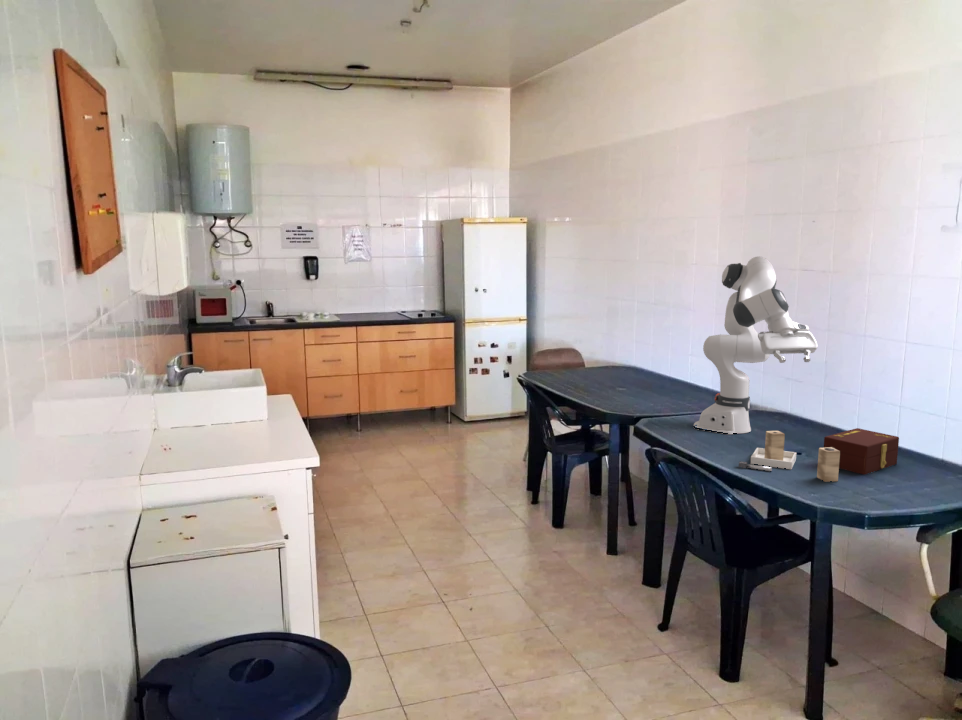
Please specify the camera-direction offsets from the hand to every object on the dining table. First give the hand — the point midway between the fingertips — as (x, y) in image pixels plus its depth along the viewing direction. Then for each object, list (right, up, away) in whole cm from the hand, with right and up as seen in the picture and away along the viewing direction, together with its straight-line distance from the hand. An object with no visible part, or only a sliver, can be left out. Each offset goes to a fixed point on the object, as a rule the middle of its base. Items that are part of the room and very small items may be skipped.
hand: (795, 361), depth 263 cm
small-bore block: (-11, -35, -7) cm, 37 cm away
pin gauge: (-20, -36, -16) cm, 44 cm away
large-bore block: (-1, -38, -26) cm, 46 cm away
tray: (-11, -35, -7) cm, 37 cm away
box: (+18, -36, -11) cm, 42 cm away
